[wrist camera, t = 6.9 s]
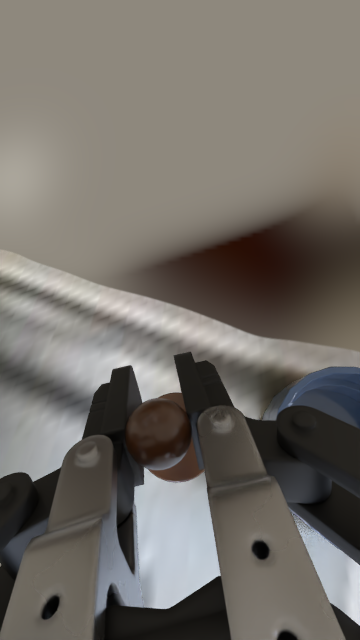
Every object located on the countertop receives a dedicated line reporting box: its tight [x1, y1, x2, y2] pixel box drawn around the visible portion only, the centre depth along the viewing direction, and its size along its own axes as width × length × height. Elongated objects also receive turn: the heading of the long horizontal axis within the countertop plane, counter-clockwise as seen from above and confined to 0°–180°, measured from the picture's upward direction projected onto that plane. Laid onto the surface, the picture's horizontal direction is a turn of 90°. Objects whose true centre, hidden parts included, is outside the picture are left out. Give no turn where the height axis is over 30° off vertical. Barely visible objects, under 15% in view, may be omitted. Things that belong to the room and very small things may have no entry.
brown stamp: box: [125, 393, 205, 482], centre depth 13 cm, size 5×5×13 cm
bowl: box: [263, 367, 360, 550], centre depth 23 cm, size 13×13×6 cm
